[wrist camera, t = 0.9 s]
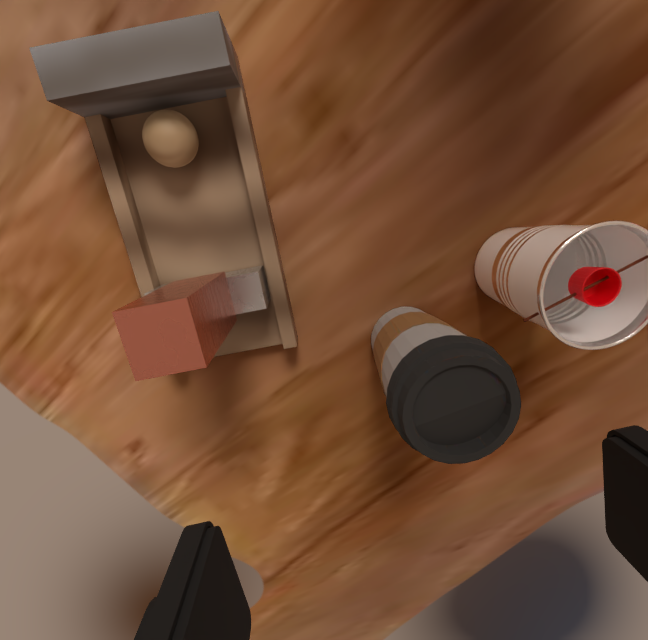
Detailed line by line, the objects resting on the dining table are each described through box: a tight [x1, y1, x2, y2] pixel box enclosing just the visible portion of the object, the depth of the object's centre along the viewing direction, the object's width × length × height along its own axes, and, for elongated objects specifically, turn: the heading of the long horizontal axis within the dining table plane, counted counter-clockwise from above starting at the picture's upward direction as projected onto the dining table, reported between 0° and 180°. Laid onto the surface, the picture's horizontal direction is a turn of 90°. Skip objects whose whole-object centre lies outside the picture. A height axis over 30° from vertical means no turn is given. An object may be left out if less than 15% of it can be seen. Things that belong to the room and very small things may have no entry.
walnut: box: [142, 110, 199, 168], centre depth 30 cm, size 4×4×4 cm
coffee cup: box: [371, 307, 521, 464], centre depth 31 cm, size 8×8×15 cm
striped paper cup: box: [474, 220, 648, 350], centre depth 31 cm, size 10×8×12 cm
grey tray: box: [30, 11, 298, 357], centre depth 31 cm, size 24×12×7 cm, turn 11°
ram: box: [112, 265, 271, 381], centre depth 28 cm, size 4×9×14 cm, turn 101°
